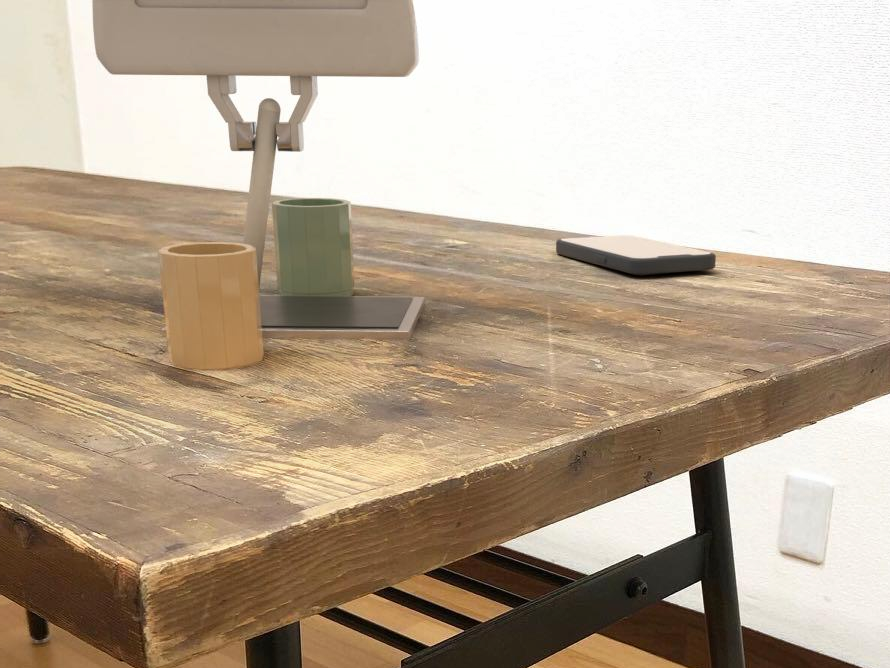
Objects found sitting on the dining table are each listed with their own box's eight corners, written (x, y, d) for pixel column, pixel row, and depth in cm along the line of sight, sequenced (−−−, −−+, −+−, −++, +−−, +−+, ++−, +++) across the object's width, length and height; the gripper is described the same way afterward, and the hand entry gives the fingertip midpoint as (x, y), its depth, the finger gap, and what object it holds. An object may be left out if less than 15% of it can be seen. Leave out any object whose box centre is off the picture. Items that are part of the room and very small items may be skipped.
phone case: (550, 255, 118) (633, 279, 104) (550, 238, 117) (634, 259, 104) (631, 250, 121) (721, 272, 108) (631, 234, 121) (722, 253, 107)
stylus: (233, 309, 84) (257, 96, 79) (238, 305, 86) (262, 95, 81) (254, 313, 84) (279, 101, 79) (258, 309, 86) (283, 100, 81)
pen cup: (272, 300, 94) (265, 206, 91) (286, 287, 99) (280, 197, 97) (348, 301, 94) (343, 207, 91) (358, 287, 99) (354, 198, 97)
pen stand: (159, 377, 72) (146, 255, 69) (184, 355, 77) (173, 241, 74) (252, 378, 72) (243, 256, 69) (271, 356, 77) (263, 242, 74)
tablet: (162, 343, 80) (160, 327, 79) (208, 308, 91) (206, 293, 91) (409, 346, 80) (409, 329, 80) (425, 310, 91) (424, 295, 91)
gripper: (423, -77, 79) (429, 148, 84) (104, -80, 79) (128, 146, 84) (414, -88, 73) (421, 155, 78) (69, -91, 73) (98, 153, 78)
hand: (267, 151), depth 81 cm, fingers closed on stylus
